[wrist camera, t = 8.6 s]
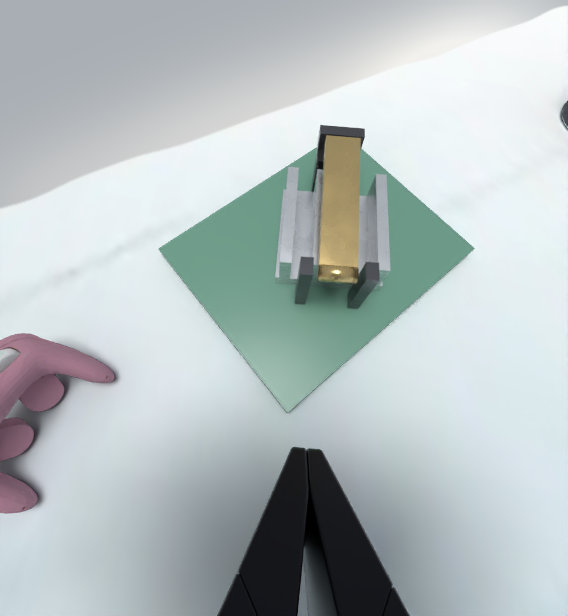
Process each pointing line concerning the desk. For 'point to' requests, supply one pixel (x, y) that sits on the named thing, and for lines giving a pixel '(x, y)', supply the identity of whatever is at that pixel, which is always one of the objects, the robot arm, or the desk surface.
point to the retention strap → (340, 211)
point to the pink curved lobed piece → (34, 398)
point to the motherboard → (321, 300)
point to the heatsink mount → (306, 231)
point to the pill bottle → (565, 114)
